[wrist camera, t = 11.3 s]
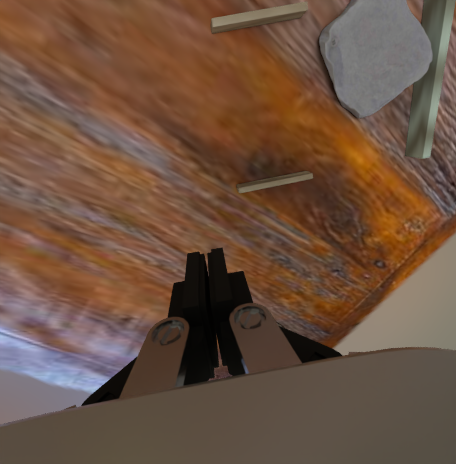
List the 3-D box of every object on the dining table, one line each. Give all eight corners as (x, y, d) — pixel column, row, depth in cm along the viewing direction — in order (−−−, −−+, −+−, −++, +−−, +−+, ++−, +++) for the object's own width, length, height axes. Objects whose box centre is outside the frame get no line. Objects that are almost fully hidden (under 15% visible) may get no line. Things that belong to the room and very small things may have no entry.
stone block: (348, 125, 34) (421, 65, 30) (363, 130, 30) (449, 61, 26) (297, 51, 31) (373, -29, 27) (305, 45, 26) (396, -51, 22)
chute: (411, 154, 35) (429, 157, 32) (237, 189, 34) (240, 195, 31) (434, -15, 27) (460, -30, 25) (210, 25, 27) (212, 14, 24)
